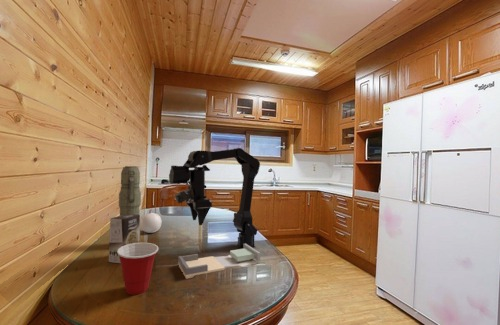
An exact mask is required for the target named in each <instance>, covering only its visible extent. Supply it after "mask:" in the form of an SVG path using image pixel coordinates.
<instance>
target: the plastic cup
mask: <svg viewBox="0 0 500 325" xmlns="http://www.w3.org/2000/svg"><path fill="white" fill-rule="evenodd" d="M158 251H159V246H158V245H156V243H151V242H140V243H132V244H127V245H125V246H122V247H120V248H119V249H118V251H117V253H118V255H119V257H120V262H121V263H120V265H121V272H122V278H123V283H124V288H125V293H126V294H127V295H132V296H133V295H134V296H135V295H140V294H143V293H145V292H146V291H147V290H148V289H149V285H150V280H151V277H152V271H153V266H154V262H155V258H156V255H157V253H158Z"/></svg>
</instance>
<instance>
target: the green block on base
mask: <svg viewBox="0 0 500 325" xmlns="http://www.w3.org/2000/svg"><path fill="white" fill-rule="evenodd" d="M229 255H230V256H231V257H232V258H234V259H235V260H236V261H237V262H238V263H240V262H241V261H244V260H254V259H255V261H256V262H257V261H258V262H259V261H261V252H260V251H258V250H257V249H255V248H252V247H250V246H249V245H247V244H243V249H242V248H239V249H232V250H231V249H230V251H229Z"/></svg>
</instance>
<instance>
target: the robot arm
mask: <svg viewBox="0 0 500 325" xmlns="http://www.w3.org/2000/svg"><path fill="white" fill-rule="evenodd" d="M232 158H233V159H235V160H236V162H237V163H238V164H239V165H241V166H240V167H241V173H242V177H243V178H242V179H243V180H242V186H241V195H240V202H239V209H238V211H237V212H234V213H233V219H232V222H233V226H234V227H235V229H236V231H237V232H238V236H237V247H238V248H239V249H243V244H247V245H249V246H250V247H252V248H254V249H255V248H256V246H255V236H256V235H257V234H258V229H257V228H256V227H255V225H254V223H253V216H252V212H251V209H252V208H251V207H252V200H253V193H254V192H253V191H254V184H255V178H256V176H257V175H258V174H259V171H260V167H261V162H260V160H259V159H258V158H256V157H254V156H253V155H251V154H250V153H248V152H246V150H244V149H243V148H241V147H236V148H232V149H231V148H230V149H224V150H222V149H221V150H217V151H214V150H213V151H211V150H194V151H190V152H189V153H188V156H187V159H186V161H185V162H184V164H182V165H170V170H169V174H168V180H169V183H170V184H171V185H176V184H187V183H188V182H189V184H188V186H187V189H184V190H181V191H179V192H177V193H175V194H174V198H175V201H176V203H178V204H182V203H185V204H186V205H187V206H188V207H189V210H190V213H191V217H192V221H196V220H197V221H198V225H199V226H203V224H204V221H205V220H206V217H207V215H208V214H209V212H210V210H211V208H213V201H212V200H211V199H210V198H207V195H206V194H205V193H206V192H205V191H206V190H205V189H206V188H207V185H206V180H205V179H206V177H205V176H206V173H205V172H210V171H211V168H210V167H208V166H207V165H206V164H209V163H211V162H214V161H218V160H226V159H232Z"/></svg>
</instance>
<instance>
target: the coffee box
mask: <svg viewBox="0 0 500 325" xmlns="http://www.w3.org/2000/svg"><path fill="white" fill-rule="evenodd" d="M140 218H141V215H140V214H139V215H135V214H126V215H122V216H120V215H119V216H114V217H110V218H109V244H108V245H109V247H108V262H109V263H114V264H115V263H116V264H121V262H120V257H119V255H118V253H117V251H118V249H119V248H120V247H122V246H125V245H127V244H132V243H139V242H140V239H139V228H140V227H141V220H140Z"/></svg>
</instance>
